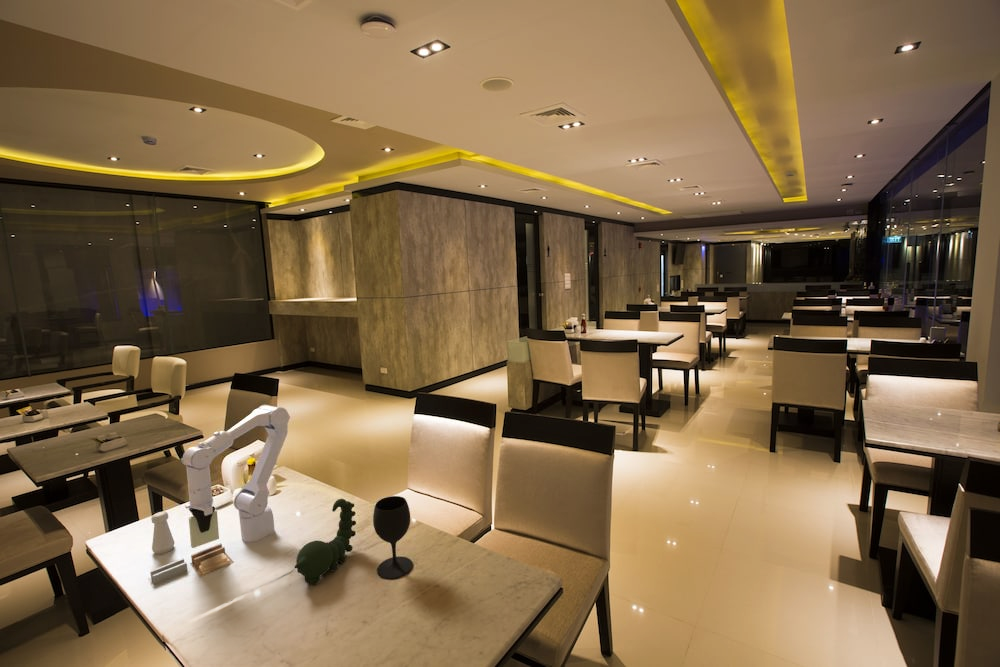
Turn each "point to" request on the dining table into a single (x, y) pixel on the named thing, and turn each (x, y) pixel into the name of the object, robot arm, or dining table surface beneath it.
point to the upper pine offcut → (213, 561)
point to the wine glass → (392, 534)
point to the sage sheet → (204, 537)
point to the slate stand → (168, 572)
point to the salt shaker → (161, 534)
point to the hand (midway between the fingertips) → (203, 530)
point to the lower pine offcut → (214, 567)
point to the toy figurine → (327, 547)
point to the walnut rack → (207, 557)
